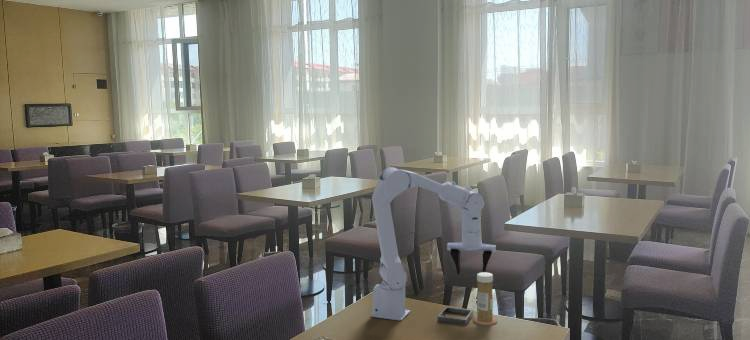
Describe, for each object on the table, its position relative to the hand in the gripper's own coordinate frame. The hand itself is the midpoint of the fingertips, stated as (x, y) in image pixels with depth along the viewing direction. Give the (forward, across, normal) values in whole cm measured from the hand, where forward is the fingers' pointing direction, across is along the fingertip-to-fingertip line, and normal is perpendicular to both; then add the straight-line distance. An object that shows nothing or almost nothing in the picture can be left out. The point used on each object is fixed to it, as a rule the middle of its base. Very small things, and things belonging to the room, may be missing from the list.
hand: (471, 273), depth 177 cm
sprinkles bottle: (+10, +5, -11) cm, 16 cm away
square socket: (+10, -3, -11) cm, 15 cm away
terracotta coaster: (+10, +5, -11) cm, 16 cm away
